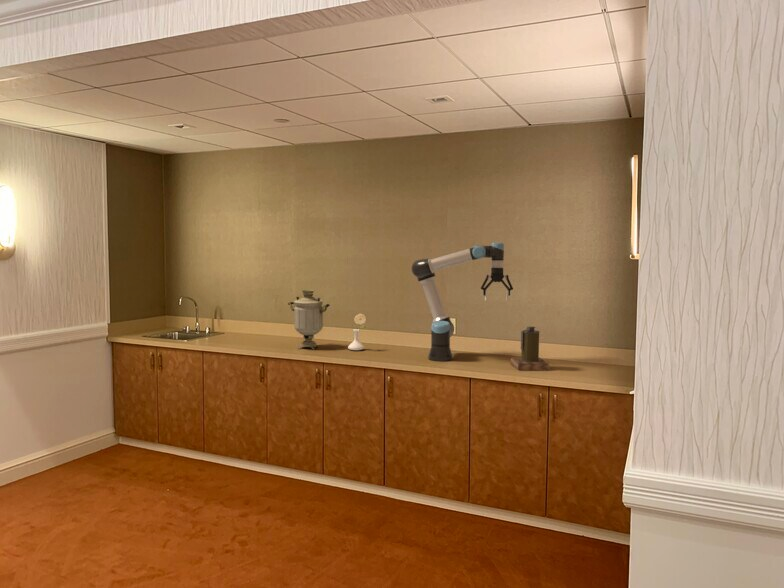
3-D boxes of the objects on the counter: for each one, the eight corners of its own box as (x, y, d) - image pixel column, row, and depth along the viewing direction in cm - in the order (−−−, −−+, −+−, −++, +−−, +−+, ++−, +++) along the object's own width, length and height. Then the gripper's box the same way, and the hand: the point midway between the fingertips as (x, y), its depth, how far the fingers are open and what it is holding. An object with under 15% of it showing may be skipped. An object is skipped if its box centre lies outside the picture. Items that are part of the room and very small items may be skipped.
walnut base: (518, 370, 347) (518, 363, 347) (510, 364, 365) (510, 357, 365) (548, 370, 348) (549, 363, 347) (540, 363, 366) (540, 357, 365)
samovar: (340, 346, 423) (339, 289, 419) (316, 352, 400) (315, 292, 397) (307, 342, 438) (306, 287, 435) (282, 347, 416) (281, 290, 413)
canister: (532, 358, 363) (533, 325, 361) (542, 361, 353) (543, 327, 351) (516, 359, 359) (517, 326, 357) (526, 362, 349) (526, 328, 348)
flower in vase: (345, 350, 406) (345, 314, 404) (351, 347, 417) (351, 312, 415) (363, 352, 402) (363, 314, 400) (369, 349, 413) (369, 312, 411)
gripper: (478, 267, 375) (477, 301, 377) (518, 267, 375) (517, 301, 377) (476, 266, 382) (475, 300, 384) (515, 267, 383) (514, 300, 385)
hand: (496, 300), depth 381 cm, fingers open, 13 cm apart
